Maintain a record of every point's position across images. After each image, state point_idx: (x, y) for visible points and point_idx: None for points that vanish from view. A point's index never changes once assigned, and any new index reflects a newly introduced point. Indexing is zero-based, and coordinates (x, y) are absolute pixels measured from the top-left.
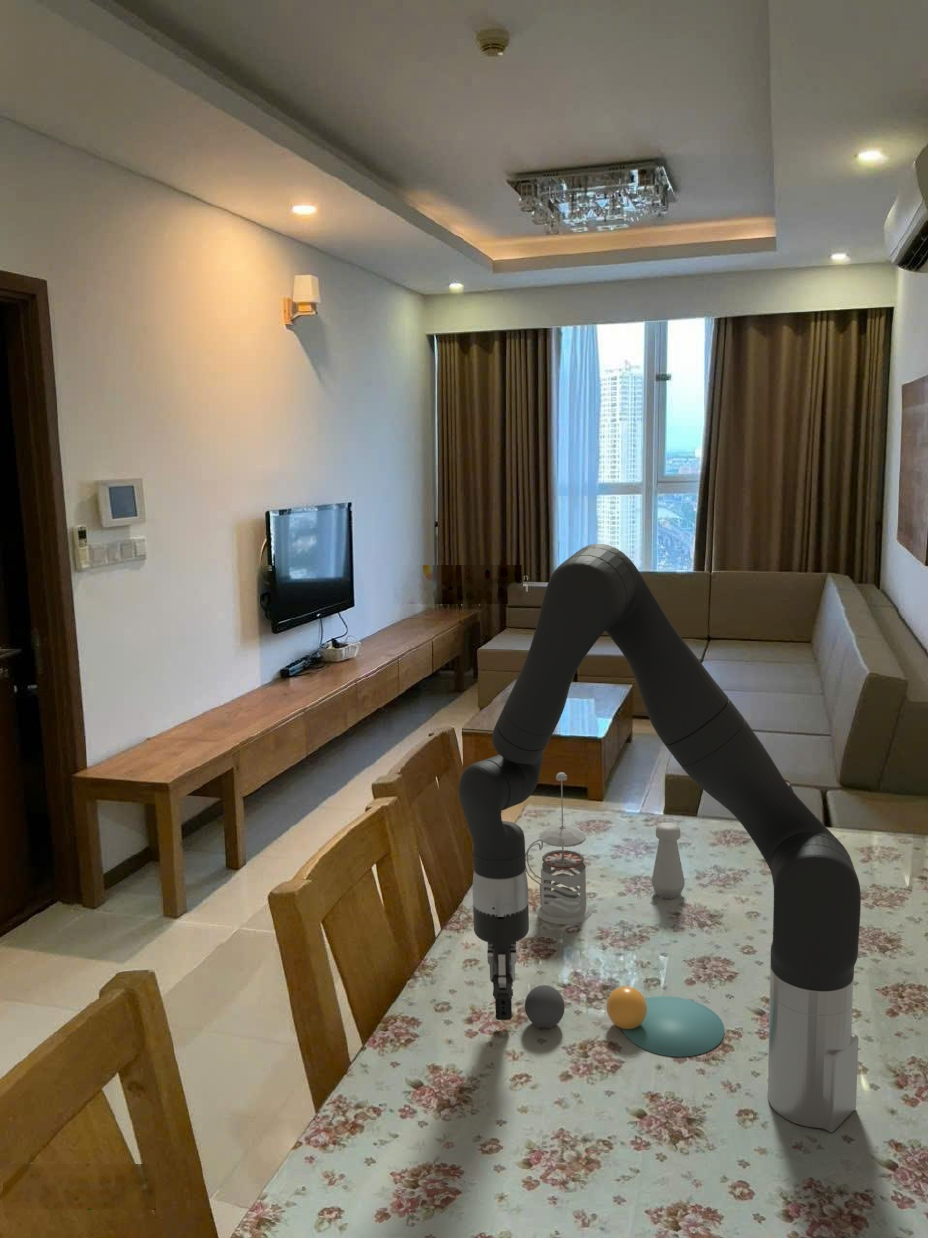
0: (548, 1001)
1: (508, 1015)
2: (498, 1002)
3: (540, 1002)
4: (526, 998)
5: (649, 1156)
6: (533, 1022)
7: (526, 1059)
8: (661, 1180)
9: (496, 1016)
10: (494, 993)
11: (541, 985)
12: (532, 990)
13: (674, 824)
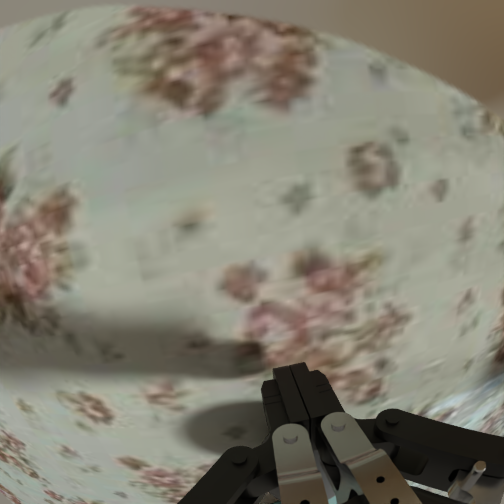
0: (279, 498)
1: (264, 411)
2: (270, 421)
3: (276, 489)
4: (314, 453)
5: (43, 495)
6: (268, 436)
7: (158, 417)
8: (23, 492)
9: (274, 373)
10: (191, 491)
11: None
12: (325, 475)
13: None
